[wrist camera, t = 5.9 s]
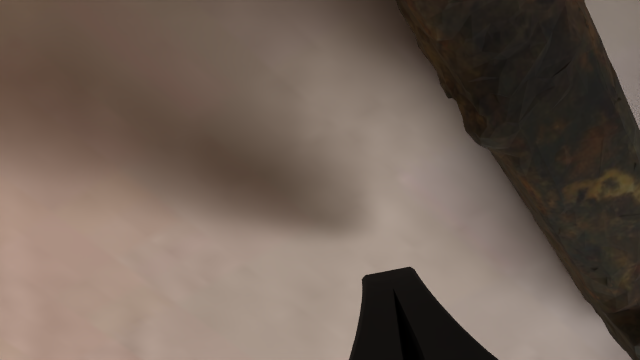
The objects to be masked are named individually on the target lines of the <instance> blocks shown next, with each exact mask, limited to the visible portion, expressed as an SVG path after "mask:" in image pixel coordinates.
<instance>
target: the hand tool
mask: <svg viewBox="0 0 640 360" xmlns="http://www.w3.org/2000/svg"><path fill="white" fill-rule="evenodd" d="M396 1H397V3H398V7H399V10H400V11H401V13H402V15H403V16H404V18H405V20H406V21H407V23H408V25H409V26H410V28H411V29H412V31H413V32H414V34H415V36H416V39H417V43H418V46H419V48H420V49H421V50H422V52H423V53H424V55H425V56H426V57H427V59H428V60H429V61H430V62H431V64H432V65H433V66H434V68H435V69H436V71H437V73H438V77H439V80H440V84H441V86H442V88H443V89H444V91H445V93H446V95H447V97H448V98H453V99H455V100H456V102H457V104H458V107H459V109H460V112H461V114H462V117H463V123H464V127H465V130H466V132H467V133H468V134H469V135H470V136H471V137H472V139H473V140H474V141H475V142H476V143H477V144H479V145H480V146H483V147H485V148H488V149H489V150H490V151H491V152H492V154H493V156H494V157H495V159H496V160H497V162H498V163H499V164H500V166H501V168H502V169H503V171H504V172H505V174H506V175H507V177H508V178H509V180H510V181H511V183H512V184H513V186H514V187H515V189H516V190H517V192H518V193H519V195H520V196H521V198H522V199H523V201H524V202H525V204H526V205H527V207H528V208H529V210H530V211H531V213H532V215H533V217H534V219H535V221H536V222H537V224H538V225H539V227H540V228H541V230H542V231H543V233H544V235H545V236H546V238H547V239H548V241H549V242H550V244H551V245H552V247H553V248H554V250H555V251H556V253H557V255H558V256H559V258H560V259H561V261H562V262H563V264H564V265H565V267H566V269H567V271H568V272H569V274H570V276H571V278H572V279H573V281H574V283H575V284H576V286H577V287H578V289H579V291H580V292H581V294H582V295H583V297H584V298H585V300H586V301H588V302H589V303H590V304H591V305H592V306H593V308H594V309H595V311H596V313H597V314H598V315H599V316H600V317H601V318H602V320H603V322H604V323H605V325H606V327H607V329H608V331H609V333H610V334H611V335H612V337H613V338H614V339H615V340H616V341H617V343H618V344H619V345H620V346H621V347H622V348H623V349H624V350H625V351H626V352H627V353H628V354H629V356H630V357H631V358H632V360H640V130H639V128H638V125H637V123H636V121H635V118H634V116H633V113H632V111H631V109H630V106H629V104H628V102H627V99H626V97H625V95H624V92H623V90H622V88H621V85H620V82H619V80H618V77H617V75H616V72H615V70H614V68H613V66H612V64H611V62H610V60H609V58H608V56H607V53H606V51H605V48H604V46H603V43H602V41H601V38H600V36H599V34H598V32H597V29H596V27H595V25H594V23H593V21H592V18H591V16H590V14H589V12H588V9H587V7H586V5H585V2H584V0H396Z"/></svg>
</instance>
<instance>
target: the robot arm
mask: <svg viewBox="0 0 640 360" xmlns="http://www.w3.org/2000/svg"><path fill="white" fill-rule="evenodd" d="M349 360H498V359H497V358H496V357H494V356H493V355H492V354H491V353H490V352H488V351H487V350H486V349H485V348H484V347H483V346H481V345H480V344H479V343H478V342H477V341H476V340H475V339H474V338H473V337H472V336H471V335H470V334H469V333H468V332H466V331H465V330H464V329H463V328H462V327H461V326H460V325H459V324H458V323H457V322H456V321H455V320H454V318H453V317H452V316H451V315H450V314H449V313H448V312H447V311H446V310H445V309H444V308H443V306H442V305H441V304H440V303H439V302H438V301H437V300H436V298H435V297H434V296H433V295H432V293H431V292H430V291H429V290H428V288H427V287H426V286H425V284H424V283H423V282H422V280H421V279H420V277H419V276H418V274H417V273H416V271H415V269H413V268H411V267H406V268H401V269H396V270H390V271H385V272H380V273H375V274H369V275H365V276H364V277H363V279H362V303H361V311H360V316H359V322H358V327H357V332H356V336H355V340H354V344H353V347H352V351H351V355H350V358H349Z"/></svg>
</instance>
